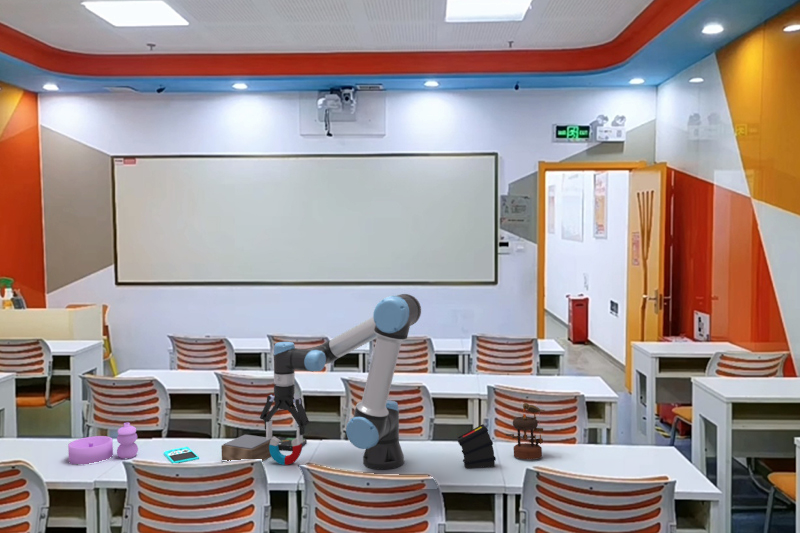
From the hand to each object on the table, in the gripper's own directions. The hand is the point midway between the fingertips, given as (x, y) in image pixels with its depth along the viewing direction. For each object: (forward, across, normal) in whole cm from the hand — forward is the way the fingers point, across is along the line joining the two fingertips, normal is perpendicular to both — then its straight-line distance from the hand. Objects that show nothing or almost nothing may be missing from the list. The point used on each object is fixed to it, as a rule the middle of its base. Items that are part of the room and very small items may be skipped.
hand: (284, 441), depth 234 cm
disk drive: (+10, -11, +17) cm, 23 cm away
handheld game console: (+10, -42, -8) cm, 44 cm away
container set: (+10, -69, -21) cm, 73 cm away
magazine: (+8, +67, +24) cm, 71 cm away
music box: (+7, +81, +41) cm, 91 cm away
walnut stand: (+9, -16, 0) cm, 19 cm away
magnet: (+9, +1, 0) cm, 9 cm away
